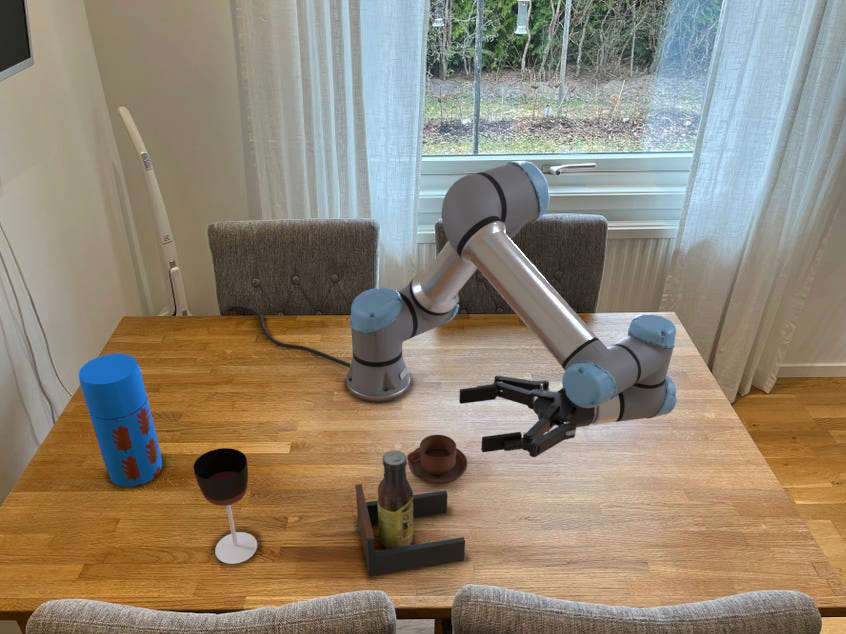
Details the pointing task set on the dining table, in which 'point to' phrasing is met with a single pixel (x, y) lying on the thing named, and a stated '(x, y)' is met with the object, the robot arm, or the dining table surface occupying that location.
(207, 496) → the wineglass
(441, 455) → the cup and saucer
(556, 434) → the robot arm
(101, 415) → the thermos
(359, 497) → the caddy
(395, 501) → the sauce bottle
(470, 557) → the dining table surface
